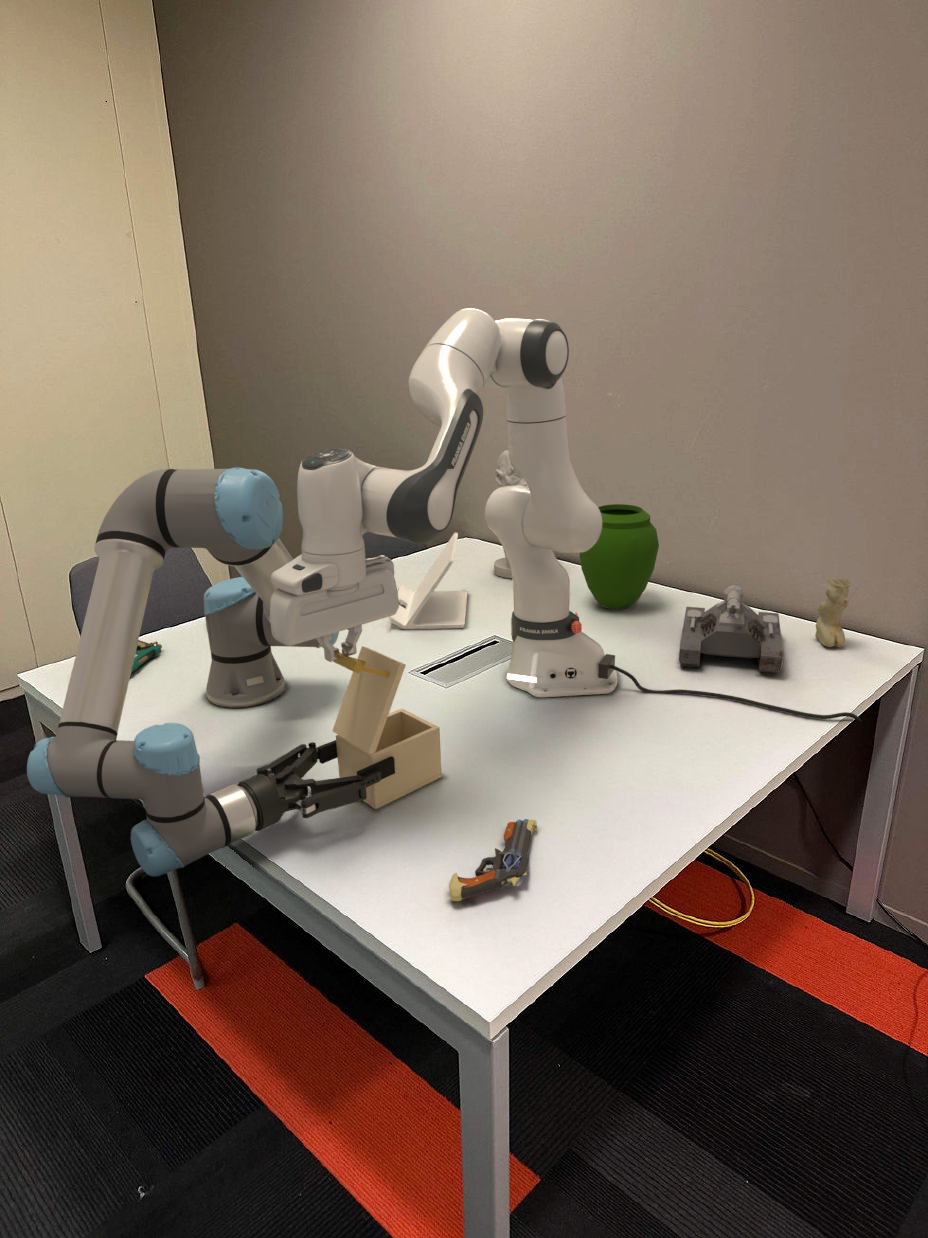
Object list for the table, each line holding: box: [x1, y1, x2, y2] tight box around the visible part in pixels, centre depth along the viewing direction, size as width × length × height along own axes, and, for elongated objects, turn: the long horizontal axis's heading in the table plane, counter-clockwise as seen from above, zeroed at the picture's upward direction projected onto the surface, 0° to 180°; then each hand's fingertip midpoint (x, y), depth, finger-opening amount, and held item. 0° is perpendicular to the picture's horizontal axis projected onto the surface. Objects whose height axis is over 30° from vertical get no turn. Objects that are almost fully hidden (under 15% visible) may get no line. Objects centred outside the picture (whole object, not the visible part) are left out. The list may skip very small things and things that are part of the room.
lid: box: [331, 645, 407, 754], centre depth 129 cm, size 14×10×8 cm
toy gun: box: [448, 818, 538, 902], centre depth 117 cm, size 3×19×10 cm
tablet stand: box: [388, 531, 468, 630], centre depth 211 cm, size 18×25×17 cm
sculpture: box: [814, 576, 852, 648], centre depth 185 cm, size 6×7×15 cm
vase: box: [578, 503, 660, 610], centre depth 210 cm, size 20×20×24 cm
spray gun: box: [131, 639, 163, 673], centre depth 187 cm, size 4×17×15 cm
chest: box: [335, 708, 443, 810], centre depth 137 cm, size 13×10×9 cm
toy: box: [678, 584, 784, 674], centre depth 182 cm, size 25×20×15 cm
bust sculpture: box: [493, 449, 527, 579], centre depth 231 cm, size 16×24×35 cm
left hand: (372, 752), depth 135 cm, fingers closed on chest, 10 cm apart
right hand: (340, 657), depth 126 cm, fingers closed
